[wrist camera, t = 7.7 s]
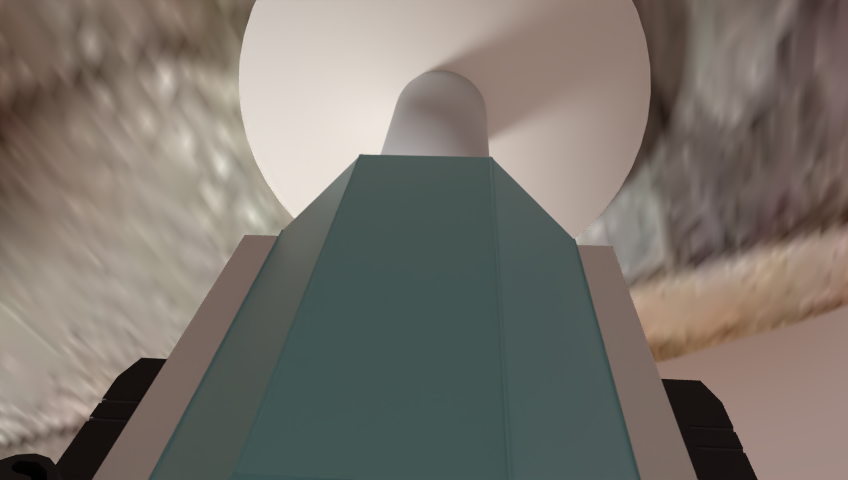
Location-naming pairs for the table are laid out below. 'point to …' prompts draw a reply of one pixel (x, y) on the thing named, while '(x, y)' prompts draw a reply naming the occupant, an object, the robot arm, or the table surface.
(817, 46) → the table surface
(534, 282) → the teal cap
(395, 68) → the post base
